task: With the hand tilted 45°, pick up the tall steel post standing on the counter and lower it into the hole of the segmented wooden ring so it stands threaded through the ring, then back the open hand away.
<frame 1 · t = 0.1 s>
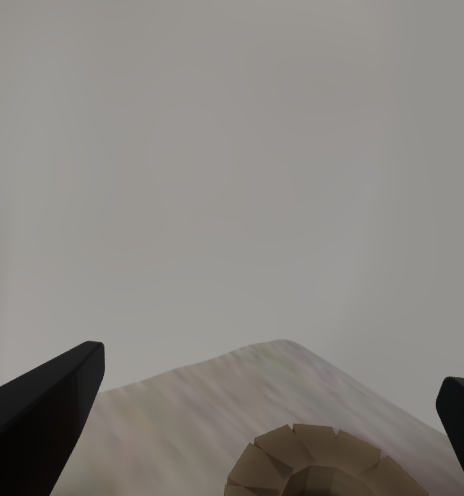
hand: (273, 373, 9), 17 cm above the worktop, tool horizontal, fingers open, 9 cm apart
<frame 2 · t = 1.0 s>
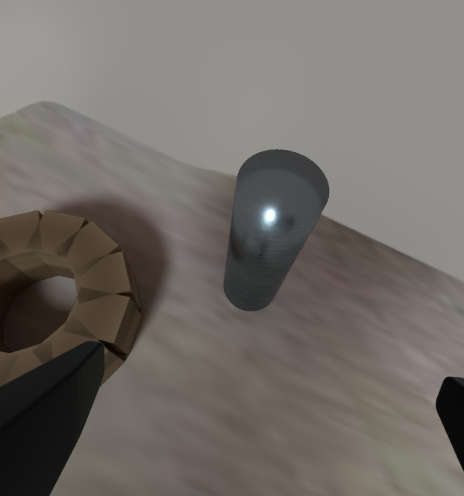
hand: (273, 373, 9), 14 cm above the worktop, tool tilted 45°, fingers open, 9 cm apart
segmented wooden ring: (50, 317, 22), on the worktop
tall steel post: (249, 285, 25), on the worktop
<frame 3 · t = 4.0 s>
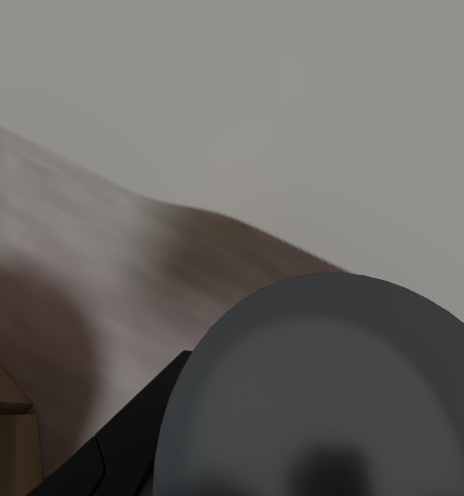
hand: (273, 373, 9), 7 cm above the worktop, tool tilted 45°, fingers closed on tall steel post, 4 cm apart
tall steel post: (245, 424, 14), on the worktop, touching gripper
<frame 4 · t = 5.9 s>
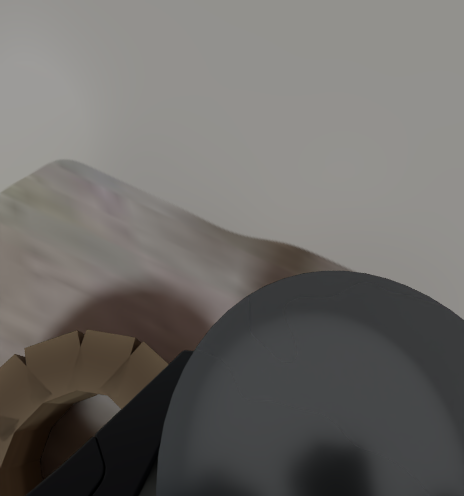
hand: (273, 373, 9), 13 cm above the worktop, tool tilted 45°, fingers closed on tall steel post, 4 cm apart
segmented wooden ring: (96, 452, 19), on the worktop
tall steel post: (246, 424, 14), point 7 cm above the worktop, touching gripper
when the fingers open (8 cm above the worktop, at t = 8.2 s): tall steel post drops 1 cm, resting in segmented wooden ring.
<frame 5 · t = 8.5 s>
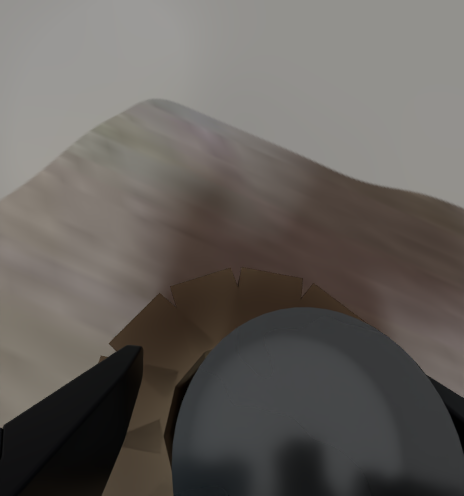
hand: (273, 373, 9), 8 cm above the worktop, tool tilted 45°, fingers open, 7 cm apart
segmented wooden ring: (242, 423, 15), on the worktop
tall steel post: (242, 423, 15), resting in segmented wooden ring
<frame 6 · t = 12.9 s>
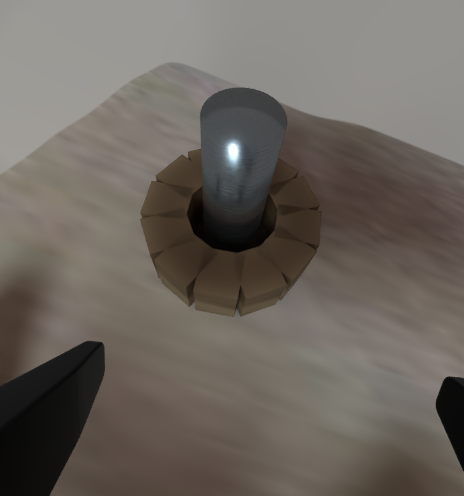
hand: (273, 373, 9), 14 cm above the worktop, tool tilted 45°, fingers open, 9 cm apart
segmented wooden ring: (229, 239, 26), on the worktop
tall steel post: (229, 239, 26), resting in segmented wooden ring
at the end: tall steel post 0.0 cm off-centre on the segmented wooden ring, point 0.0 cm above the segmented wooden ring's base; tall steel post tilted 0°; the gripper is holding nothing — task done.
